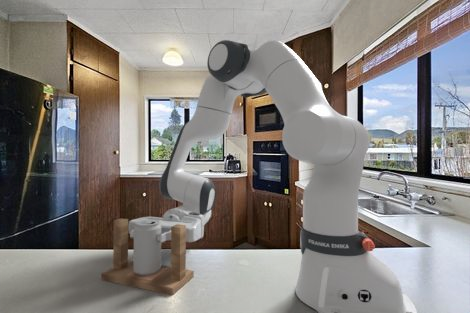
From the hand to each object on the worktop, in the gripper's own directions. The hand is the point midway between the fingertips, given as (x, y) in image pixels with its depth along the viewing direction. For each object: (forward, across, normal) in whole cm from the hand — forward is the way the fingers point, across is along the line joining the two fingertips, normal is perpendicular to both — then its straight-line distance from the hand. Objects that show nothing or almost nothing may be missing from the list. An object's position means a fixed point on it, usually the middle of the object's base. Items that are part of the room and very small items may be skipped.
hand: (145, 236), depth 61 cm
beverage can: (-1, 0, +9) cm, 9 cm away
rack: (-1, 0, +10) cm, 10 cm away
